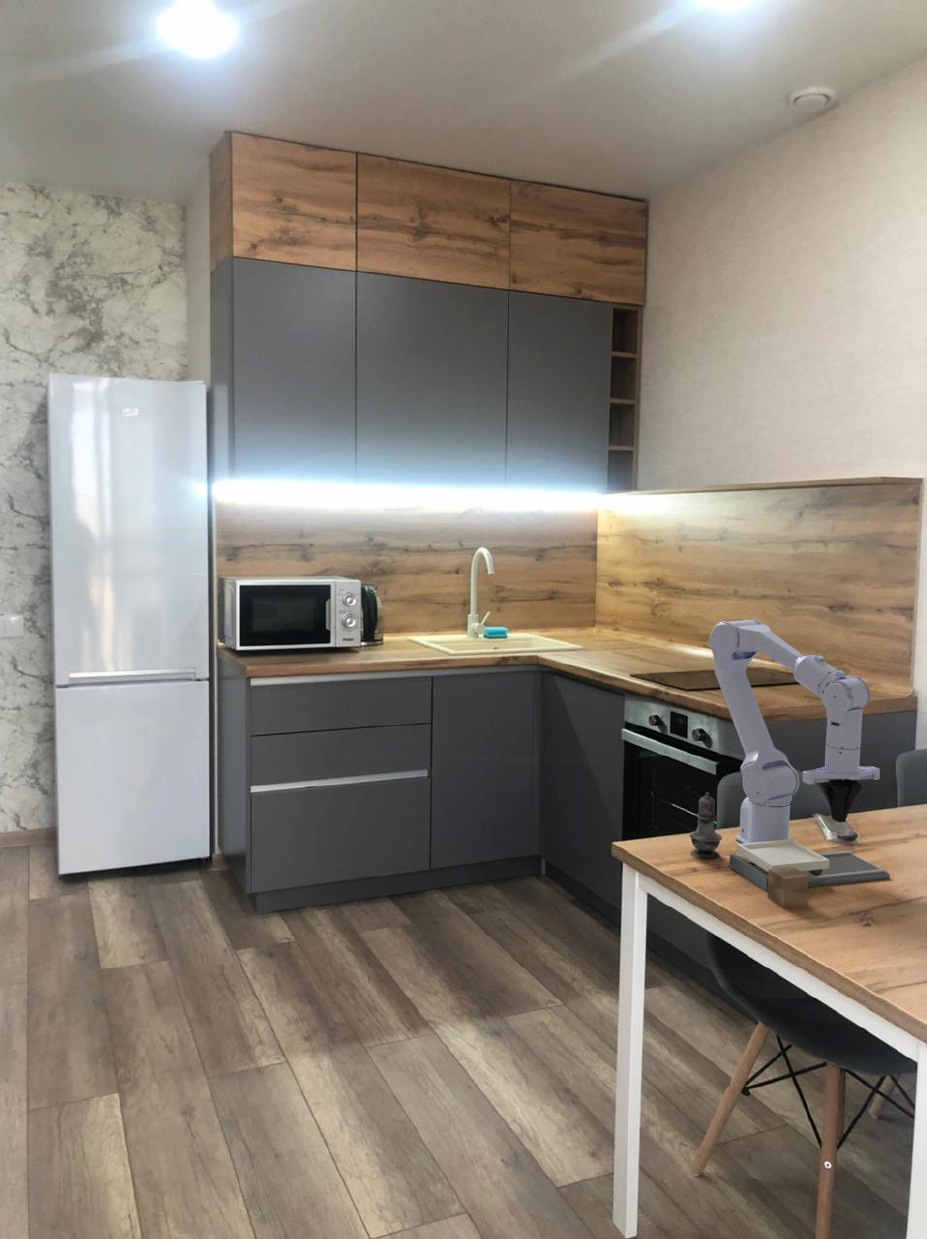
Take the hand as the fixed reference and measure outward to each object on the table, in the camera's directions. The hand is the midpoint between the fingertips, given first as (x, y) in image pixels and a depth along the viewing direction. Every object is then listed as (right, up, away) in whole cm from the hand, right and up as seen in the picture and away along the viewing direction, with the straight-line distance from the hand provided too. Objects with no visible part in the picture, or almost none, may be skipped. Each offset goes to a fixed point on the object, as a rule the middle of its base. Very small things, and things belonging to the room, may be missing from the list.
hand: (838, 820), depth 179 cm
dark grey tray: (-6, -9, -1) cm, 11 cm away
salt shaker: (-22, -8, +8) cm, 25 cm away
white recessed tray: (-11, -8, -2) cm, 14 cm away
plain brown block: (-14, -11, -14) cm, 22 cm away
